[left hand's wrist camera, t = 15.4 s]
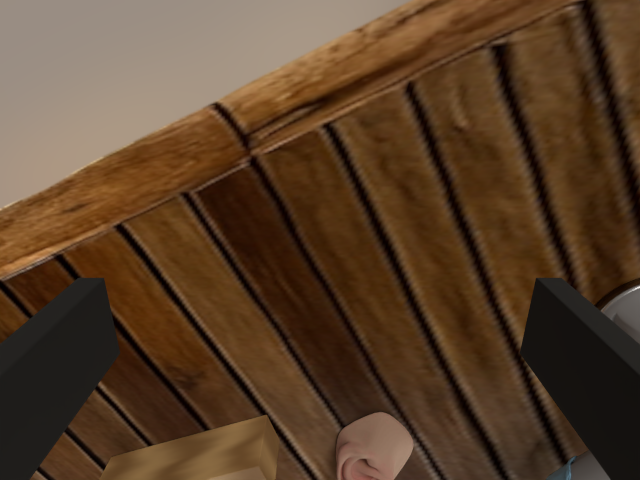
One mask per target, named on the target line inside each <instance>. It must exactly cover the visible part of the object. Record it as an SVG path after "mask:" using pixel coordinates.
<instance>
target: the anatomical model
mask: <svg viewBox="0 0 640 480" xmlns="http://www.w3.org/2000/svg"><path fill="white" fill-rule="evenodd" d="M412 449H413V440H412V437H411V435H410V434H409V432H408V431H407V430H406V428H405V427H404V426H403V425H402V424H401V423H400V422H398V421H397V420H396V419H395V418H393V417H392V416H390V415H389V414H386V413H383V412H378V413H373V414H370V415H367V416H365V417H363V418H361V419H358V420H356V421H354V422H352V423H351V424H349V425H348V426H346V427H345V428H343V429H342V430H341V432H340V433H339V436H338V439H337V446H336V462H337V470H336V475H337V480H394V478H395V477H396V476H397V474H398V473H399V472H400V470H401V469H402V467H403V466H404V464H405V463H406V461H407V460H408V458H409V456H410V454H411V452H412Z"/></svg>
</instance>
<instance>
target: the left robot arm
mask: <svg viewBox="0 0 640 480" xmlns="http://www.w3.org/2000/svg"><path fill="white" fill-rule="evenodd" d="M119 354H120V351H119V346H118V341H117V337H116V332H115V327H114V323H113V318H112V314H111V309H110V304H109V300H108V295H107V290H106V286H105V281H104V278H78V279H77V280H76V281H74V282H73V283H72V284H71V285H70V286H69V287H67V288H66V289H65V290H64V291H63V292H61V293H60V294H59V295H58V296H57V297H56V298H54V299H53V300H52V301H51V302H50V303H48V304H47V305H46V306H45V307H44V308H42V309H41V310H40V311H39V312H38V313H37V314H35V315H34V316H33V317H32V318H31V319H29V320H28V321H27V322H26V323H25V324H24V325H22V326H21V327H20V328H19V329H18V330H16V331H15V332H14V333H13V334H12V335H11V336H9V337H8V338H7V339H6V340H5V341H3V342H2V343H1V344H0V480H30V478H31V477H32V475H33V474H34V473H35V471H36V470H37V468H38V467H39V466H40V464H41V463H42V461H43V460H44V459H45V457H46V456H47V454H48V453H49V452H50V450H51V449H52V447H53V446H54V445H55V443H56V442H57V440H58V439H59V438H60V436H61V435H62V433H63V432H64V431H65V429H66V428H67V427H68V425H69V424H70V422H71V421H72V420H73V418H74V417H75V415H76V414H77V413H78V411H79V410H80V408H81V407H82V406H83V404H84V403H85V401H86V400H87V399H88V397H89V396H90V394H91V393H92V392H93V390H94V389H95V387H96V386H97V385H98V383H99V382H100V380H101V379H102V378H103V376H104V375H105V373H106V372H107V371H108V369H109V368H110V366H111V365H112V364H113V362H114V361H115V360H116V358H117V357H118V355H119ZM520 354H521V355H522V357H523V358H524V360H525V361H526V362H527V364H528V365H529V366H530V368H531V369H532V371H533V372H534V373H535V375H536V376H537V378H538V379H539V380H540V382H541V383H542V385H543V386H544V387H545V389H546V390H547V392H548V393H549V394H550V396H551V397H552V399H553V400H554V401H555V403H556V404H557V406H558V407H559V408H560V410H561V411H562V413H563V414H564V415H565V417H566V418H567V420H568V421H569V422H570V424H571V425H572V427H573V428H574V429H575V431H576V432H577V433H578V435H579V436H580V438H581V439H582V440H583V442H584V443H585V445H586V446H587V447H588V449H589V451H587V452H585V453H583V454H581V455H580V456H574V457H572V458H571V459H570V460H569V461H568V463H567V464H566V465H564V466H563V467H561V468H560V469H558V470H557V471H555V472H554V473H552V474H551V475H549V476H548V477H547V479H546V480H640V278H639V279H635V280H633V281H630V282H628V283H626V284H624V285H622V286H620V287H618V288H617V289H615V290H614V291H612V292H611V293H609V294H608V295H607V296H606V297H604V298H603V299H602V300H601V301H600V302H599V303H598V304H597V305H596V306H594V305H593V304H592V303H590V302H589V301H588V300H587V299H586V298H584V297H583V296H582V295H581V294H580V293H579V292H577V291H576V290H575V289H574V288H573V287H571V286H570V285H569V284H568V283H567V282H566V281H564V280H563V279H562V278H536V281H535V286H534V290H533V295H532V300H531V304H530V309H529V314H528V318H527V323H526V327H525V332H524V337H523V341H522V346H521V351H520Z"/></svg>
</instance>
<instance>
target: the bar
mask: <svg viewBox="0 0 640 480" xmlns="http://www.w3.org/2000/svg"><path fill="white" fill-rule="evenodd" d="M279 441H280V440H279V438H278V436H277V434H276V432H275V430H274V428H273V426H272V424H271V422H270V420H269V418H268V416H267V415H264V416H260V417H256V418H252V419H249V420H245V421H241V422H238V423H234V424H230V425H227V426H223V427H219V428H216V429H212V430H208V431H205V432H201V433H197V434H194V435H190V436H186V437H183V438H179V439H175V440H172V441H168V442H164V443H161V444H157V445H153V446H150V447H146V448H142V449H138V450H135V451H131V452H127V453H124V454H120V455H116V456H113V457H111V459H110V460H109V462H108V464H107V466H106V468H105V470H104V471H103V473H102V475H101V477H100V479H99V480H275V477H276V468H277V459H278V450H279Z"/></svg>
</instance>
